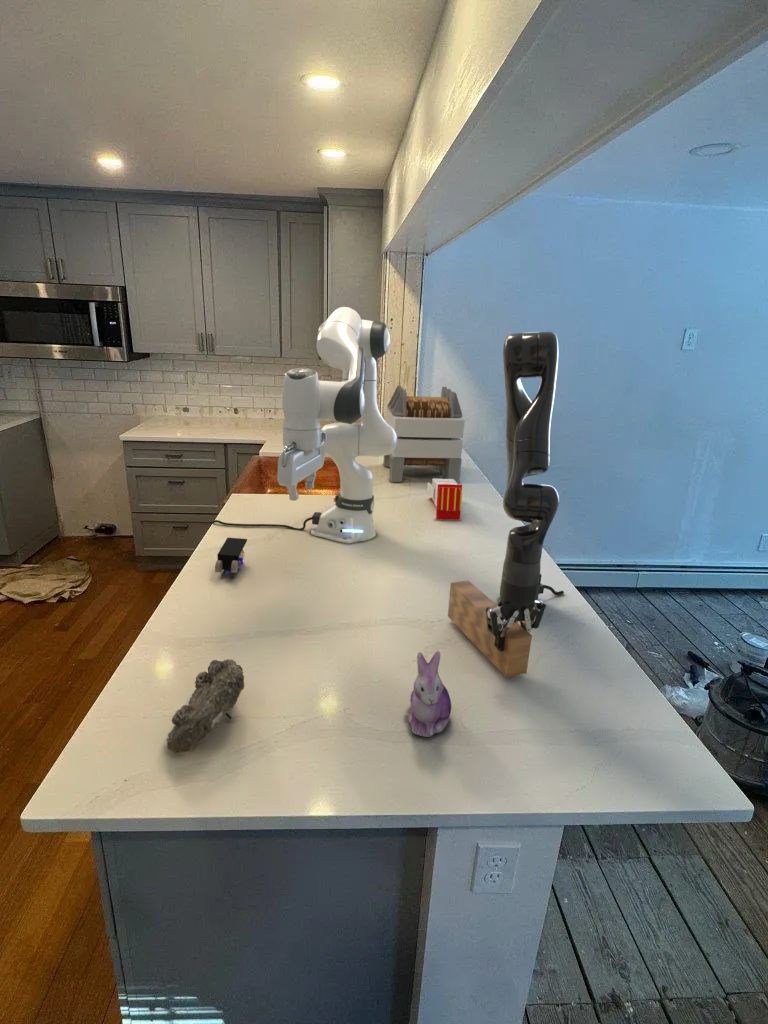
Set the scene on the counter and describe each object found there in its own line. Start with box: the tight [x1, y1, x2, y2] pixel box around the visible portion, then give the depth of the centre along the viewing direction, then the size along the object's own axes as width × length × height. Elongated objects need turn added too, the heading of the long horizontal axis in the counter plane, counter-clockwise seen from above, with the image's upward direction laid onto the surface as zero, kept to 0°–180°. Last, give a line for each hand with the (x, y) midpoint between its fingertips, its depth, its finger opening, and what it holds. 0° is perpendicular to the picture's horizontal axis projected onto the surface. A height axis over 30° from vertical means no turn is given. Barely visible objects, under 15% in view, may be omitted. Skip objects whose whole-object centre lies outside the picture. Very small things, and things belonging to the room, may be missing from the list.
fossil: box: [166, 658, 245, 754], centre depth 106 cm, size 22×10×15 cm
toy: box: [426, 478, 463, 521], centre depth 226 cm, size 12×13×30 cm
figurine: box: [407, 650, 452, 738], centre depth 107 cm, size 9×10×15 cm
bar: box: [447, 580, 533, 678], centre depth 132 cm, size 27×5×10 cm, turn 22°
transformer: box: [383, 384, 465, 484], centre depth 268 cm, size 34×33×41 cm
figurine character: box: [214, 537, 248, 578], centre depth 166 cm, size 7×8×15 cm
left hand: (302, 494), depth 140 cm, fingers open, 8 cm apart
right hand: (510, 647), depth 123 cm, fingers closed on bar, 5 cm apart
